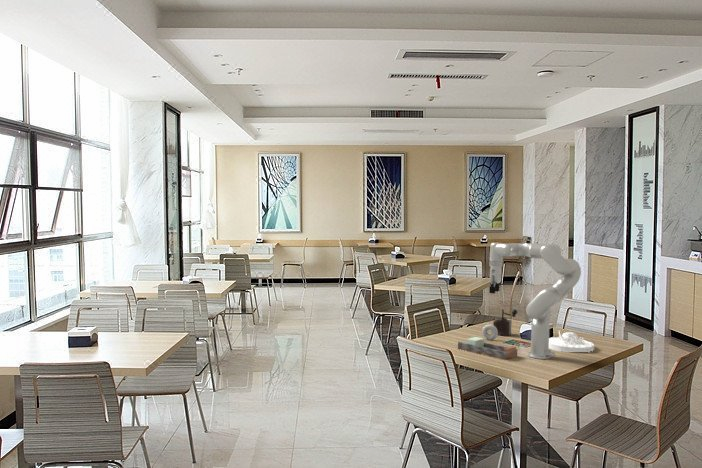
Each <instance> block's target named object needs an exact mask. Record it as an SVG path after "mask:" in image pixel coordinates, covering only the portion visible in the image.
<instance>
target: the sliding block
mask: <svg viewBox="0 0 702 468" xmlns="http://www.w3.org/2000/svg"><path fill="white" fill-rule="evenodd" d="M484 342H485V338H482V337H477V336H474V337H468V338H466V344H471V345H475V346H480V347H484Z"/></svg>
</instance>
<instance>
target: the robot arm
mask: <svg viewBox="0 0 702 468" xmlns="http://www.w3.org/2000/svg"><path fill="white" fill-rule="evenodd" d="M489 248H490V249H489V263H488V265H489V267H490V269H489V292H488V293H490V294H496V292H500V283H501V282H502V267H503V260H504V259H503V257H506V258H507V257H508V258H509V257H529V258H531V259H539V260H541V259H542V260H543V261H544V262H545V263H546V264H548V266H549V267H551V268H552V270H554V272H555V273H557V274H558V275H561V276H560V277H559V278H558V279H557V280H556V281H555V282H554V283H553V284H552V286H550V287H547V288H544V289H542V290H541V291H540V292H539V293H538V294H537V295H536V296H535V297H534V298H533V299H531V301H530V302H529V303H528V304H527V306H526V308H525V313H526V315H527V317H528V318H529V319H530V320H531V327H530V328H531V331H530V332H531V333H530V352H527V356H528V357H530V358H532V359H538V360H539V359H540V360H549V359H551V358H552V357H555V355H556V354H555V352H554V351H551V349H549V338H550V320H551V314H552V307H553V306H555V305H557V304H559V303H561V301H562V300H563V299H564V298H565V296H567V295H568V293H570V292H571V290H572V289H573V288H574V287H576V285H577V284H578V282H579V281H580V279H581V277H582V276H581V275H582V269H581V265H580V264H579V262H578V261H577V260H576V259H573V258H565V257H563V256H562V249H561V246H559V245H558V244H556V243H536V242H534V243H533V242H532V243H515V242H513V243H512V242H510V243H501V242H491V243H490V245H489Z"/></svg>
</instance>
